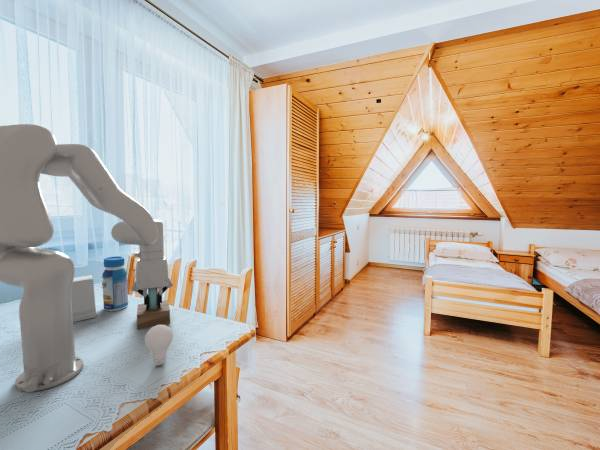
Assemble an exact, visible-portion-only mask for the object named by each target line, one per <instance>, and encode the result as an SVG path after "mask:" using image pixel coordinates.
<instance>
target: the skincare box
mask: <svg viewBox="0 0 600 450" xmlns="http://www.w3.org/2000/svg"><path fill="white" fill-rule="evenodd" d="M95 299H96V298H95V286H94V277H93V275H92V274H89V275H82V276H76V277H75V276H74V279H73V284H72V313H73V323H77V322H79V321H80V322H81V321H83V320H89V319H94V318H96V317H97V311H96V310H97V309H96V300H95Z"/></svg>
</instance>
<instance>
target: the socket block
mask: <svg viewBox="0 0 600 450" xmlns="http://www.w3.org/2000/svg"><path fill="white" fill-rule="evenodd" d="M136 310H137V311H136V325H137V326H136V329H137V330H143V329H148V328H149V329H150V328H152V327H154V326H156V325H166V326H167V325H170V324H171V309H170V304H169V300H162V303H160V306H158V309H155V310H149V307H148V308H146V305H144V303H139V304H137V309H136Z"/></svg>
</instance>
